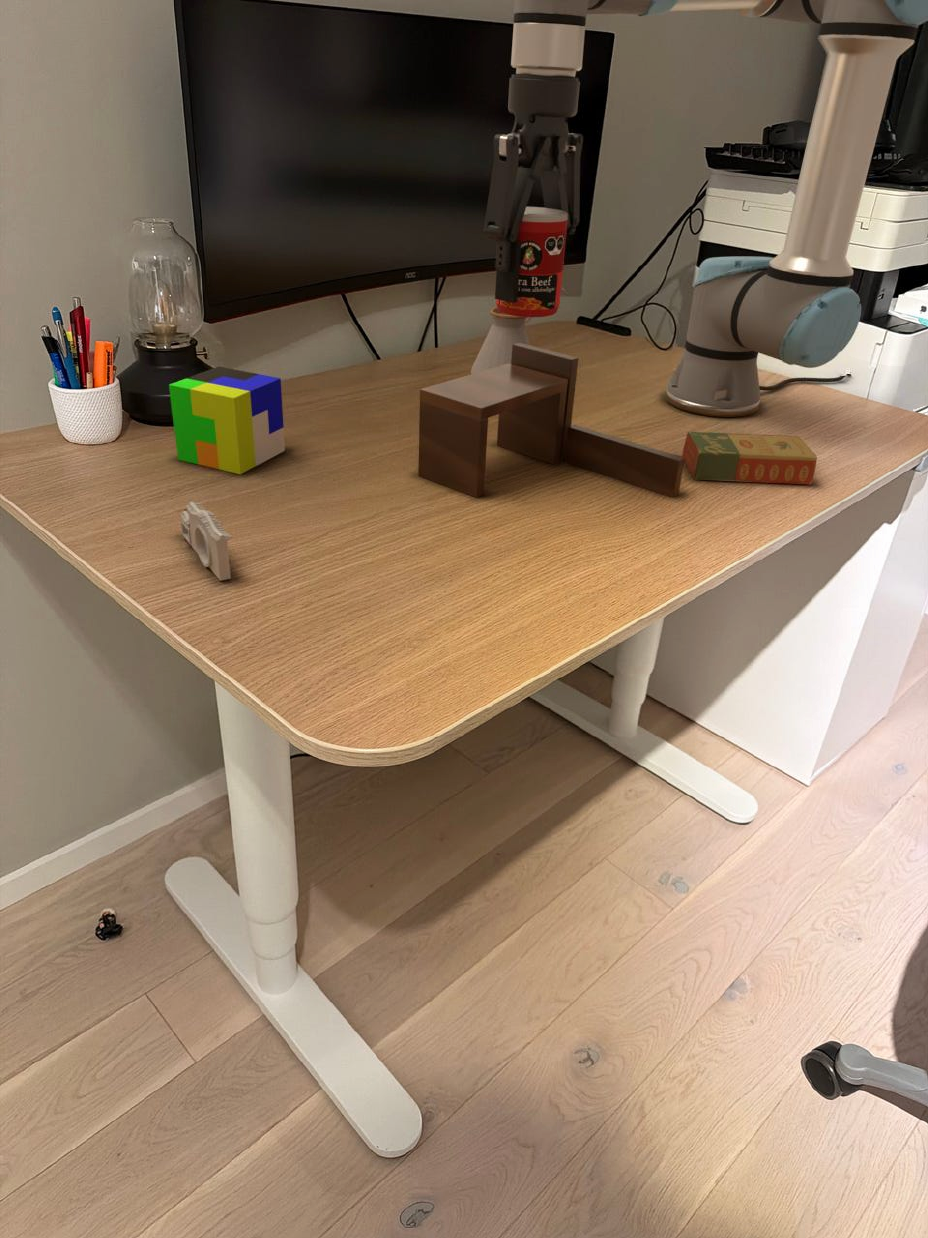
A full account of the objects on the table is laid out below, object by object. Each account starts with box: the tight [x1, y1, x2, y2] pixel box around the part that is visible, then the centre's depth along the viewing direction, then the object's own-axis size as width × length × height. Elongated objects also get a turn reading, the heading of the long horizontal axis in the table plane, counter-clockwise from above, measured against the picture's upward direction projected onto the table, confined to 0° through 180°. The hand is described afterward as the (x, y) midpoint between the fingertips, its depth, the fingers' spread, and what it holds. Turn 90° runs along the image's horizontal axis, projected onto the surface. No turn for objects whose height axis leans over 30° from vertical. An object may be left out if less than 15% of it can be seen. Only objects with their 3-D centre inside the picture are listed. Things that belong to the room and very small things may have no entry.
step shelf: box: [417, 343, 685, 498], centre depth 115 cm, size 20×28×14 cm
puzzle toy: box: [168, 366, 286, 475], centre depth 120 cm, size 10×10×10 cm
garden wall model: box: [178, 501, 232, 582], centre depth 95 cm, size 12×2×6 cm, turn 33°
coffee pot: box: [470, 287, 567, 375], centre depth 153 cm, size 21×12×15 cm, turn 143°
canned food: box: [495, 206, 568, 318], centre depth 107 cm, size 8×8×11 cm
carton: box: [681, 430, 818, 485], centre depth 125 cm, size 8×16×4 cm, turn 88°
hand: (528, 295), depth 109 cm, fingers closed on canned food, 8 cm apart
